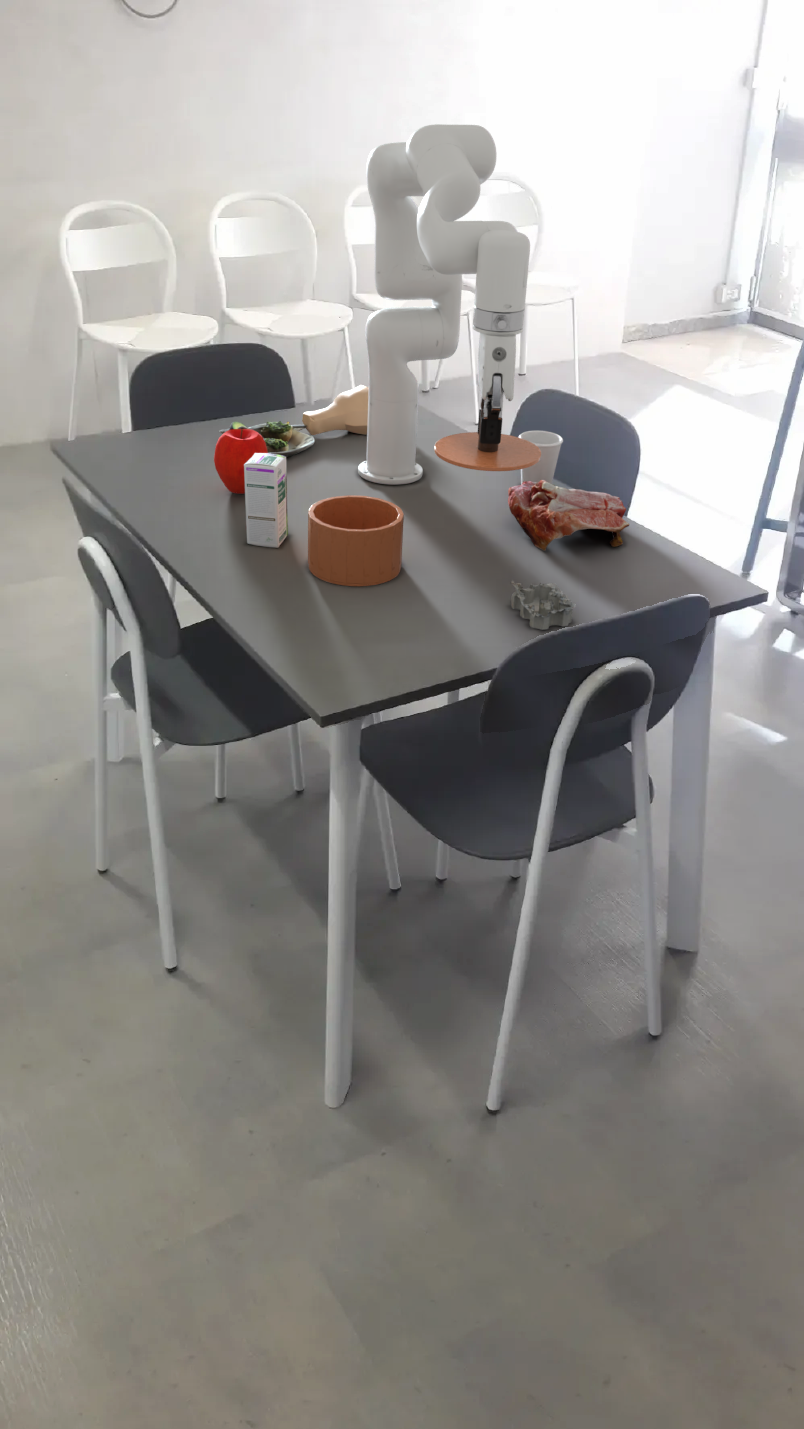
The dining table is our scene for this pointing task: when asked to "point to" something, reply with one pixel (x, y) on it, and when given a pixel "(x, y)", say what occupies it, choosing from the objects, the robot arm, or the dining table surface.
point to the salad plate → (280, 437)
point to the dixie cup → (542, 456)
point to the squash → (341, 413)
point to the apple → (236, 456)
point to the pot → (355, 540)
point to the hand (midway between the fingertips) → (488, 437)
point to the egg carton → (542, 605)
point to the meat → (564, 512)
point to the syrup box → (266, 499)
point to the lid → (487, 452)
